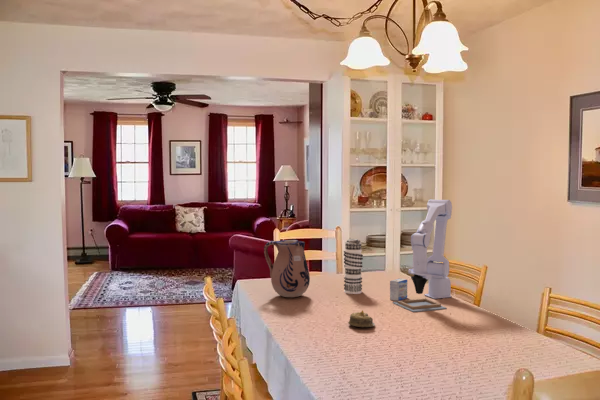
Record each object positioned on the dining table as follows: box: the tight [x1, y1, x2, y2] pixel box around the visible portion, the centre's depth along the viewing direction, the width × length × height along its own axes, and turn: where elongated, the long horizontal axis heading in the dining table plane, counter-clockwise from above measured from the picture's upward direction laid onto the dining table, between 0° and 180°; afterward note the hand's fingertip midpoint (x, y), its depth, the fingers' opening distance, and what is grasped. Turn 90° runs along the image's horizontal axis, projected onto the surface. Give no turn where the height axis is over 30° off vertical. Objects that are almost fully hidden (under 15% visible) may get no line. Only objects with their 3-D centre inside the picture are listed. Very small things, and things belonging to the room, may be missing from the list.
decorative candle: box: [343, 238, 364, 295], centre depth 245 cm, size 9×9×25 cm
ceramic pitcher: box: [263, 239, 311, 298], centre depth 237 cm, size 18×21×25 cm
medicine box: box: [389, 278, 408, 302], centre depth 231 cm, size 8×4×9 cm, turn 138°
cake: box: [347, 310, 376, 328], centre depth 191 cm, size 10×10×5 cm
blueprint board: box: [392, 298, 448, 313], centre depth 219 cm, size 16×16×2 cm
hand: (419, 293), depth 219 cm, fingers closed
